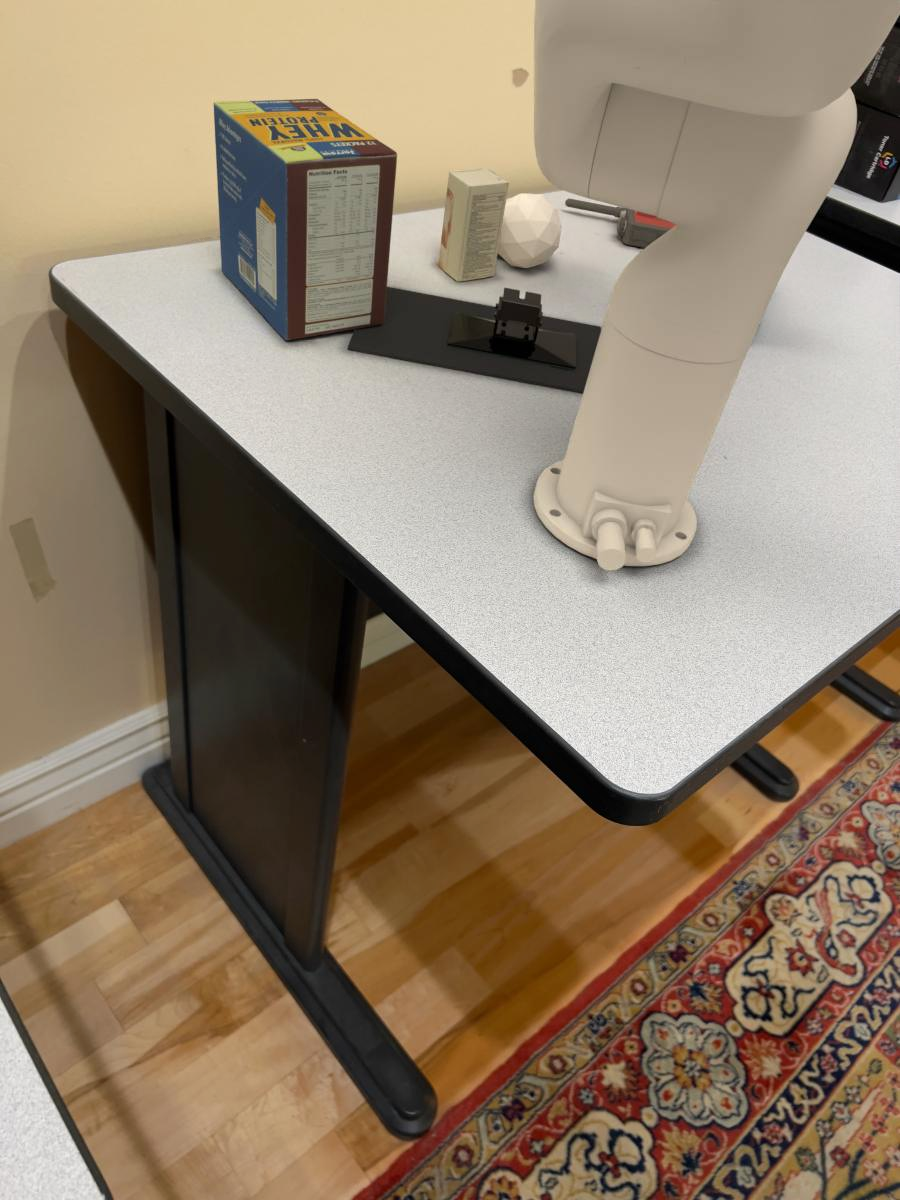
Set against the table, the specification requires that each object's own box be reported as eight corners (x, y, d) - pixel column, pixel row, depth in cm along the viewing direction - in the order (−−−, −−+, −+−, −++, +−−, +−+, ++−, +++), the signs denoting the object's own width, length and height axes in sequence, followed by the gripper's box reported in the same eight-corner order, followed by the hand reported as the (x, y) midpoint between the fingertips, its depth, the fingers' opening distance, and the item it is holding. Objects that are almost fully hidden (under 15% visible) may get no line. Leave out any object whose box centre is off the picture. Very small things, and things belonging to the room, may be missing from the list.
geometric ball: (532, 288, 104) (586, 245, 99) (491, 275, 97) (546, 229, 93) (508, 232, 105) (560, 187, 100) (467, 216, 99) (520, 168, 94)
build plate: (574, 338, 89) (586, 294, 86) (574, 373, 84) (588, 327, 81) (453, 314, 89) (461, 269, 86) (446, 347, 83) (454, 301, 80)
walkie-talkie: (711, 238, 117) (562, 209, 116) (723, 203, 114) (570, 174, 113) (719, 264, 111) (562, 234, 110) (732, 228, 108) (571, 197, 107)
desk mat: (604, 397, 82) (605, 394, 82) (347, 349, 81) (347, 346, 81) (600, 329, 92) (600, 326, 92) (372, 286, 91) (372, 283, 91)
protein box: (313, 260, 93) (318, 96, 83) (385, 326, 85) (400, 152, 74) (218, 271, 89) (210, 99, 78) (284, 342, 80) (285, 159, 69)
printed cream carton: (473, 260, 100) (488, 166, 93) (494, 277, 97) (512, 182, 91) (434, 265, 97) (447, 169, 91) (455, 282, 95) (470, 185, 88)
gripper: (697, -55, 61) (623, 212, 74) (906, -14, 62) (797, 245, 75) (687, -70, 67) (619, 181, 80) (879, -32, 67) (781, 212, 80)
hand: (705, 211), depth 77 cm, fingers closed
